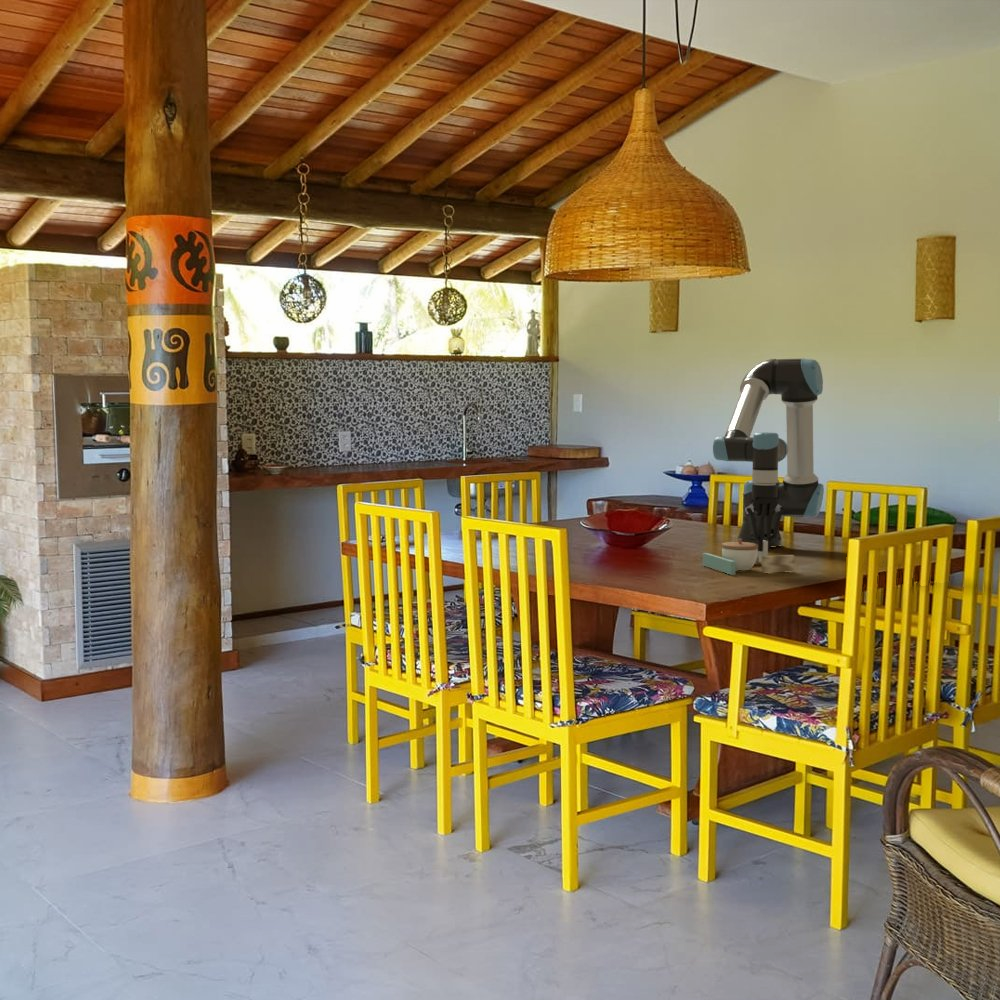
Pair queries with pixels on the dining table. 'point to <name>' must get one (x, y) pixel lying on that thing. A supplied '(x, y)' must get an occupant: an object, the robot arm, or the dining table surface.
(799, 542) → the dining table surface
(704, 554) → the bar
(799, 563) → the dining table surface
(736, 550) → the lidded jar
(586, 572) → the dining table surface
